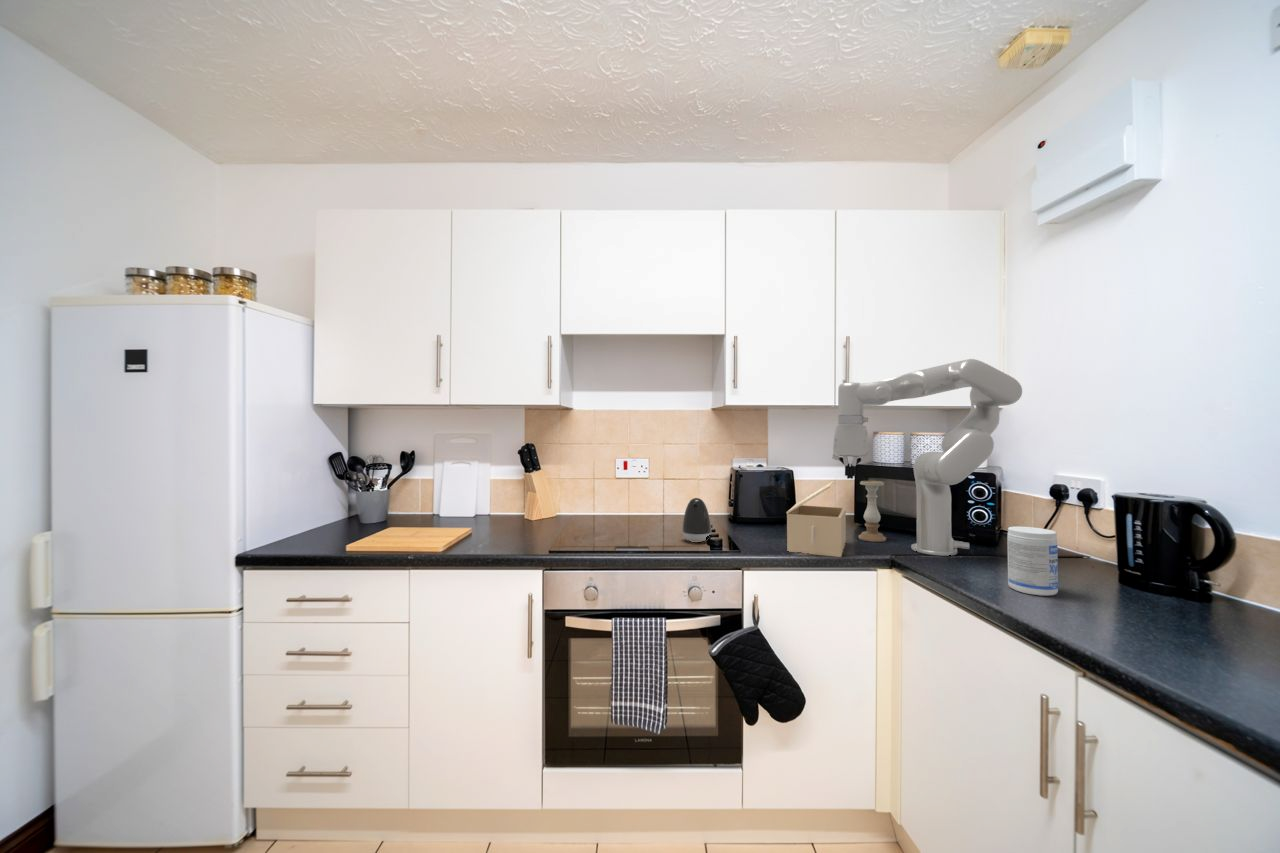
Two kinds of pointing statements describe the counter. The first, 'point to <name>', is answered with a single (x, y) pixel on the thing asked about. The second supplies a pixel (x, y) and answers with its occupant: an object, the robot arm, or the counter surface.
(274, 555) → the counter surface
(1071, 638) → the counter surface
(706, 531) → the dark grey domed cylinder
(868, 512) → the candle holder
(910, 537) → the counter surface
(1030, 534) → the supplement tub
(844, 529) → the carton
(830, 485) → the lid flap
